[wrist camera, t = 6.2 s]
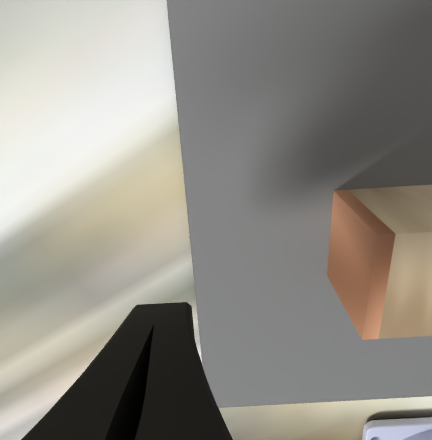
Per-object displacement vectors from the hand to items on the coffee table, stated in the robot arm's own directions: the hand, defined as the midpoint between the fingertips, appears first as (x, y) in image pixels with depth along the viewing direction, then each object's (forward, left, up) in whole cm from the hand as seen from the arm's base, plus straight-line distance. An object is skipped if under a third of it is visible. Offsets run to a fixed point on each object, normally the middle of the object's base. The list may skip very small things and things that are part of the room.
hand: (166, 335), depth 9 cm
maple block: (0, -6, -3) cm, 7 cm away
